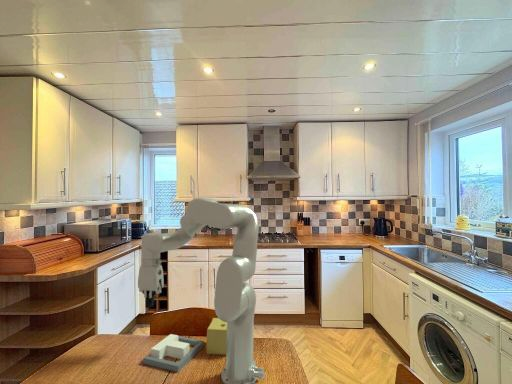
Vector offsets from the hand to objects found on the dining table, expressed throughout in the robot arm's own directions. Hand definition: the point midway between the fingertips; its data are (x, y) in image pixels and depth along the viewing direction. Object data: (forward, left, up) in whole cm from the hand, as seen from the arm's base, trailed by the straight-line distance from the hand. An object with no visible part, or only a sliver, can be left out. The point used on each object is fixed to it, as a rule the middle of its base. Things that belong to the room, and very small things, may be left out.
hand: (149, 306), depth 104 cm
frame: (-13, 0, -17) cm, 21 cm away
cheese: (-29, -10, -17) cm, 35 cm away
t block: (-12, 0, -17) cm, 21 cm away
